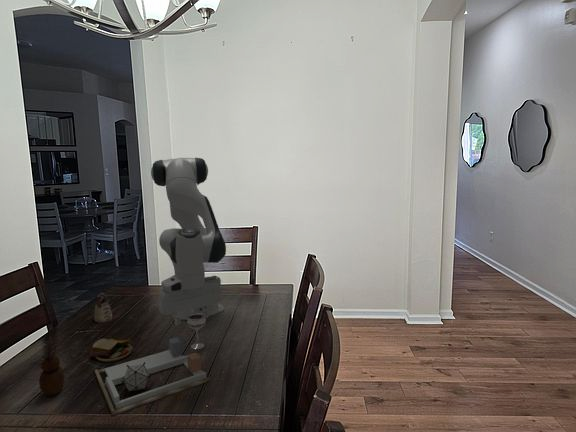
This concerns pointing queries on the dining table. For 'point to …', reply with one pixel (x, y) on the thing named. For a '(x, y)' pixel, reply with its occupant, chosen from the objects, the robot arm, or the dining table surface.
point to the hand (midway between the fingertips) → (192, 321)
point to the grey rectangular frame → (189, 361)
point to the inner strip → (149, 359)
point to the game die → (136, 378)
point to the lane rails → (143, 400)
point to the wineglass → (196, 326)
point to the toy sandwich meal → (111, 349)
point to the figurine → (102, 309)
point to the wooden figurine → (51, 375)
